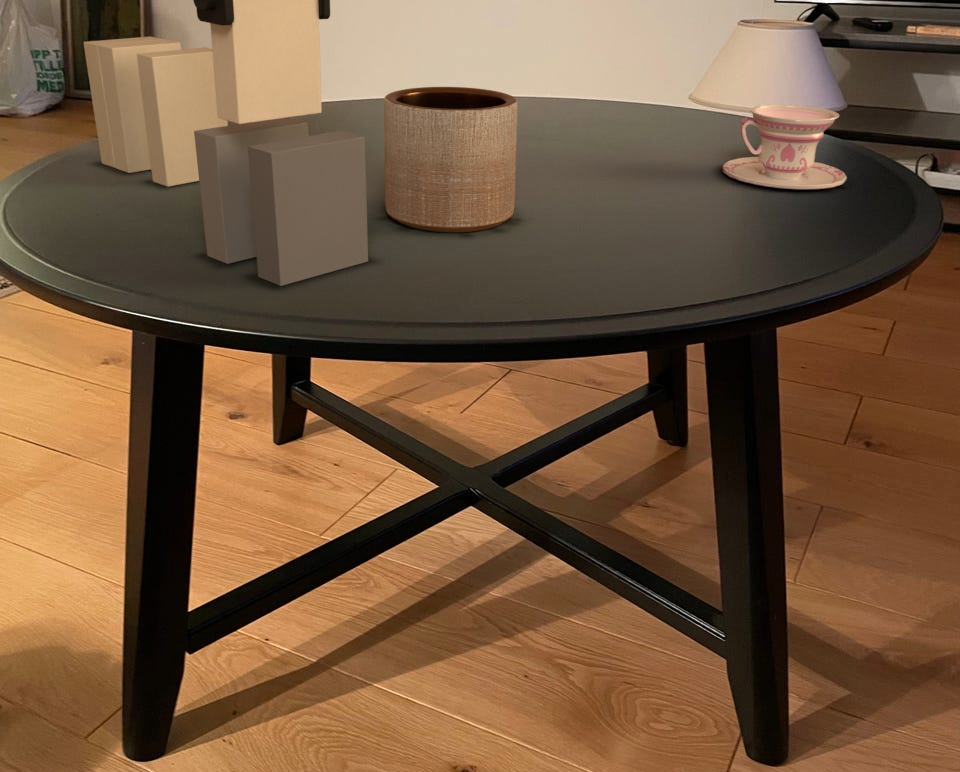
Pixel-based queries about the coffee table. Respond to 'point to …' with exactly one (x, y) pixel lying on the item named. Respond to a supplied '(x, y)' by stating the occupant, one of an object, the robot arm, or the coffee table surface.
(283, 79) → the cream book
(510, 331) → the coffee table surface
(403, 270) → the coffee table surface
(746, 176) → the teacup
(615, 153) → the coffee table surface
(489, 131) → the planter
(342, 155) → the grey books
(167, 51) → the cream books
